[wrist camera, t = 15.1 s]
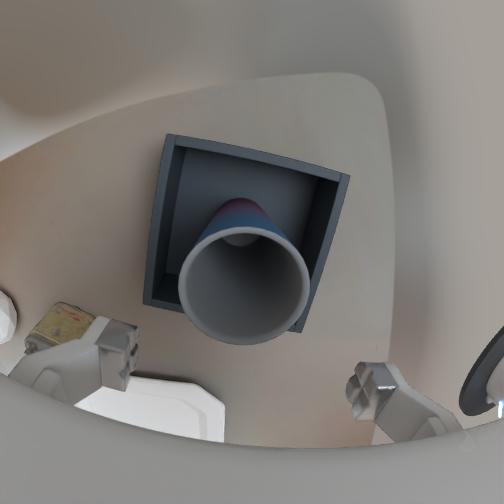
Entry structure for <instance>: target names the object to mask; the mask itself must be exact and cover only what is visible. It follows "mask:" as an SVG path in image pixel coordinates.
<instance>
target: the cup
mask: <svg viewBox="0 0 504 504" xmlns="http://www.w3.org/2000/svg"><path fill="white" fill-rule="evenodd" d="M309 290H310V279H309V274H308V269H307V267H306V264H305V262H304V259H303V258H302V256H301V255H300V253H299V252H298V251H297V249H296V248H295V247H294V246H293V244H292V243H291V242H290V241H289V240H288V238H287V237H286V236H285V235H284V234H283V233H282V231H281V230H280V229H279V228H278V227H277V226H276V224H275V223H274V222H273V221H272V220H271V219H270V217H269V216H268V215H267V214H266V213H265V212H264V210H263V209H262V208H261V207H260V206H259V205H258V204H257V203H256V202H254V201H252V200H250V199H247V198H235V199H231V200H229V201H227V202H226V203H224V204H223V205H222V206H221V207H220V208H219V210H218V211H217V213H216V214H215V215H214V217H213V218H212V220H211V221H210V223H209V224H208V226H207V227H206V229H205V230H204V232H203V233H202V235H201V236H200V237H199V239H198V240H197V242H196V243H195V245H194V246H193V248H192V249H191V251H190V252H189V254H188V256H187V258H186V259H185V261H184V263H183V265H182V268H181V271H180V275H179V283H178V291H179V298H180V302H181V304H182V307H183V310H184V312H185V313H186V315H187V316H188V318H189V319H190V321H191V322H192V323H193V324H194V325H195V326H196V327H197V328H198V329H199V330H200V331H202V332H203V333H205V334H206V335H207V336H209V337H211V338H213V339H216V340H218V341H221V342H224V343H228V344H234V345H254V344H258V343H263V342H266V341H269V340H271V339H274V338H276V337H278V336H279V335H281V334H282V333H284V332H286V331H287V330H288V329H289V328H290V327H291V326H292V325H293V324H294V323H295V322H296V321H297V320H298V318H299V317H300V316H301V314H302V312H303V310H304V308H305V306H306V304H307V300H308V296H309Z"/></svg>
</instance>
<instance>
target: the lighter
mask: <svg viewBox="0 0 504 504" xmlns="http://www.w3.org/2000/svg"><path fill="white" fill-rule="evenodd" d="M94 320H95V318H94V317H93V316H91V315H90V314H87V313H85V312H83V311H81V310H80V309H79V308H78V307H76V306H72V307H71V306H69V305H66V304H64V303H57V304H55V305H54V307H53V308H52V309H51V310H50V311H49V312H48V313H47V314H46V315H45V317H44V318H43V319H42V320H41V321H40V322H39V323H38V324H37V325H36V326H35V327H34V328H33V329H32V330H31V332H30V333H29V335H28V336H27V337H26V339H25V346H26V350H25V352H24V353H25V354H26V355H30V354H33V353H36V352H39V351H42V350H45V349H48V348H51V347H53V346H56V345H59V344H62V343H65V342H68V341H71V340H73V339H76V338H77V339H81V337H82V336H83V335H84V333H85V332H86V331H87V329H88V328H89V326H90V325H91V324H92V322H93V321H94Z"/></svg>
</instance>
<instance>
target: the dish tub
mask: <svg viewBox="0 0 504 504" xmlns="http://www.w3.org/2000/svg"><path fill="white" fill-rule="evenodd" d="M349 179H350V175H347V174H344V173H341V172H337V171H334V170H331V169H327V168H324V167H320V166H317V165H313V164H309V163H306V162H302V161H298V160H294V159H291V158H287V157H283V156H279V155H274V154H270V153H266V152H262V151H257V150H253V149H249V148H244V147H239V146H235V145H230V144H225V143H220V142H214V141H209V140H204V139H198V138H192V137H187V136H181V135H174V134H166V139H165V144H164V149H163V154H162V159H161V164H160V170H159V175H158V181H157V187H156V193H155V199H154V206H153V212H152V219H151V227H150V234H149V243H148V251H147V260H146V270H145V281H144V293H143V304H144V305H149V306H153V307H157V308H162V309H166V310H171V311H176V312H180V313H185V312H184V310H183V307H182V304H181V302H180V298H179V291H178V283H179V275H180V271H181V268H182V265H183V263H184V261H185V259H186V258H187V256H188V254H189V252H190V251H191V249H192V248H193V246H194V245H195V243H196V242H197V240H198V239H199V237H200V236H201V235H202V233H203V232H204V230H205V229H206V227H207V226H208V224H209V223H210V221H211V220H212V218H213V217H214V215H215V214H216V213H217V211H218V210H219V208H220V207H221V206H222V205H223V204H224V203H226V202H227V201H229V200H231V199H235V198H247V199H250V200H252V201H254V202H256V203H257V204H258V205H259V206H260V207H261V208H262V209H263V210H264V212H265V213H266V214H267V215H268V216H269V217H270V219H271V220H272V221H273V222H274V223H275V224H276V226H277V227H278V228H279V229H280V230H281V231H282V233H283V234H284V235H285V236H286V237H287V238H288V240H289V241H290V242H291V243H292V244H293V246H294V247H295V248H296V249H297V251H298V252H299V253H300V255H301V256H302V258H303V259H304V262H305V264H306V267H307V269H308V274H309V279H310V290H309V296H308V300H307V304H306V306H305V308H304V310H303V312H302V314H301V316H300V317H299V318H298V320H297V321H296V322H295V323H294V324H293V325H292V326H291V327H290V328H289V329H288V330H287V331H290V332H298V333H302V330H303V327H304V324H305V322H306V319H307V316H308V313H309V310H310V307H311V304H312V302H313V299H314V296H315V293H316V290H317V287H318V284H319V281H320V278H321V275H322V272H323V268H324V265H325V262H326V259H327V256H328V253H329V249H330V246H331V243H332V240H333V236H334V233H335V230H336V226H337V223H338V219H339V216H340V212H341V209H342V205H343V202H344V198H345V194H346V191H347V187H348V183H349ZM185 314H186V313H185Z"/></svg>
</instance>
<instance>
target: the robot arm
mask: <svg viewBox="0 0 504 504" xmlns="http://www.w3.org/2000/svg"><path fill="white" fill-rule="evenodd" d="M138 337H139V327H138V326H135V325H131V324H128V323H124V322H121V321H117V320H114V319H110V318H107V317H103V316H97V317H96V318H95V320H94V321H93V322H92V324H91V325H90V326H89V328H88V329H87V331H86V332H85V333H84V335H83V336H82V337H81V339H77V338H76V339H73V340H71V341H68V342H65V343H62V344H59V345H56V346H53V347H51V348H48V349H45V350H42V351H39V352H36V353H33V354H30V355H27V356H24V357H23V358H22V359H21V360H20V361H19V363H18V364H17V365H16V366H15V367H14V369H13V370H12V371H11V372H10V374H9V375H8V376H6V375H4V374H2V373H0V504H504V418H502V419H499V420H496V421H493V422H489V423H486V424H483V425H479V426H476V427H473V428H468V429H465V430H463V428H462V426H461V425H460V423H459V422H458V420H457V419H456V417H455V416H454V414H453V413H452V412H450V411H449V410H447V409H445V408H444V407H442V406H441V405H439V404H438V403H436V402H434V401H433V400H431V399H430V398H428V397H427V396H425V395H423V394H422V393H420V392H419V391H417V390H416V389H414V388H412V387H409V386H408V384H407V383H406V381H405V380H404V378H403V376H402V375H401V373H400V372H399V370H398V369H397V367H396V366H395V364H393V363H387V362H381V363H375V362H359V363H358V364H357V365H356V367H355V369H354V371H355V375H354V376H352V377H351V378H350V379H349V381H348V383H347V385H346V397H347V400H348V401H349V402H350V403H351V404H352V408H351V410H352V413H353V415H354V418H355V420H356V421H374V422H375V423H376V424H377V425H378V426H379V427H380V428H381V429H382V430H383V431H384V432H385V433H386V434H387V435H388V436H389V437H390V438H391V439H392V440H393V441H395V443H390V444H382V445H372V446H360V447H343V448H279V447H262V446H249V445H239V444H230V443H222V442H215V441H208V440H201V439H195V438H190V437H184V436H179V435H174V434H169V433H164V432H160V431H155V430H151V429H147V428H143V427H139V426H135V425H132V424H128V423H124V422H121V421H117V420H114V419H111V418H108V417H104V416H101V415H98V414H95V413H92V412H89V411H86V410H84V409H81V408H78V407H75V406H74V405H75V404H77V403H78V402H80V401H81V400H83V399H84V398H86V397H88V396H89V395H91V394H92V393H94V392H95V391H97V390H98V389H100V388H102V386H104V387H107V388H111V389H115V390H118V391H122V392H125V391H126V389H127V386H128V384H129V381H130V373H131V372H133V371H134V369H135V366H136V363H137V359H138V348H139V346H138V345H137V343H136V342H137V340H138ZM486 392H487V397H486V402H487V403H488V404H489V403H492V402H494V403H495V404H496V406H497V407H498V408H499V417H501V411H502V412H503V413H504V356H503V358H502V359H501V360H500V362H499V363H498V364H497V366H496V367H495V369H494V371H493V372H492V374H491V376H490V378H489V380H488V383H487V386H486Z"/></svg>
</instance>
